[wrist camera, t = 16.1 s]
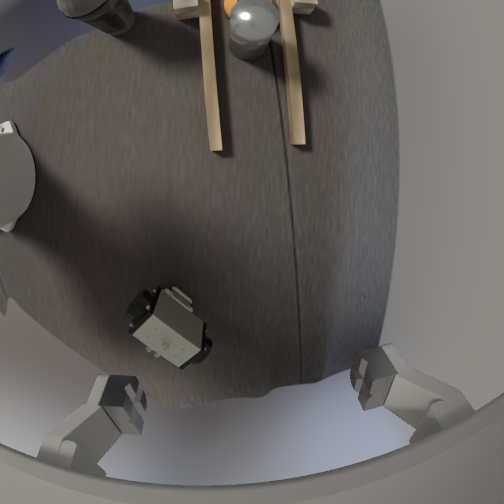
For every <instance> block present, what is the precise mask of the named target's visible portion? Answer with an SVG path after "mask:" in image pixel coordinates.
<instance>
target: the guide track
mask: <svg viewBox="0 0 504 504" xmlns="http://www.w3.org/2000/svg"><path fill="white" fill-rule="evenodd" d="M276 2H277V9H278V11H279V13H280V21H279V25H280V33H281V41H282V50H283V60H284V69H285V80H286V91H287V102H288V115H289V128H290V142H291V144H305V128H304V114H303V102H302V90H301V79H300V69H299V60H298V51H297V43H296V35H295V27H294V19H293V13H294V14H309V15H310V13H311V12H312V11H313V10H314V8H315V7H316V6H317V5H318V2H317V0H276ZM173 8H174V12H175V14H176V16H177V19H178V20H183V19H189V18H196V17H199V19H200V36H201V51H202V64H203V77H204V90H205V102H206V113H207V124H208V134H209V144H210V151H217V150H222V139H221V128H220V117H219V106H218V95H217V83H216V71H215V58H214V45H213V31H212V17H211V2H210V0H173Z"/></svg>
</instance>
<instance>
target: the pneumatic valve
mask: <svg viewBox="0 0 504 504" xmlns="http://www.w3.org/2000/svg"><path fill="white" fill-rule="evenodd" d="M171 289H172V290H171V291H170V290H169V289H167V288H165V289H164V290H163V289H161V288H160V287H159V286H158V287H157V288H156V289H154V290H153V291H152V293H150V292H149V291H148V290H146V289H143V290H142V291H141V292H140V293H139V294H138V295H137V296H136V297H135V299H134V300H133V301H132V303H131V304H130V306H129V307H128V309H127V311H126V316H128V317H129V318H130V319H131V320H132V321H131V322H130V324H129V326H131V327H130V329H129V333H130V334H132V335H133V336H134V337H136V338H137V339H138V340H140V341H141V342H142V343H144V344H145V345H147V346H148V347H147V348H146V350H147V351H148V352H151V351H152V350H154V351H155V352H156V353H154V355H155V357H157V358H158V357H160V356H162V357H164V358H165V359H167V360H168V361H170V362H171V363H173V364H174V365H176V366H177V367H179V368H180V369H183V368H185V367H186V366H187V365H189V364H190V363H193V364H199V363H201V362H202V361H203V360H204V359H205V358H206V357H207V355H208V354H209V352H210V350H211V348H212V340H211V339H210V338H208V337H207V336H206V332H207V330H206V324H205V323H204V322H203V321H202V320H200V319H199V318H198V317H196V316H195V315H194V314H192V312H193V309H192V308H191V307H190V304H192V301H191V298H190V297H189V296H187V295H186V294H185V293H184V292H182V291H181V290H180V289H179V288H178V287H176V286H175V287H174V286H172V288H171Z"/></svg>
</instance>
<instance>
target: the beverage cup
mask: <svg viewBox="0 0 504 504" xmlns="http://www.w3.org/2000/svg"><path fill="white" fill-rule="evenodd" d="M57 4H58V7H59V9H60V10H61V11H62V13H63V14H64V15H65V16H66V17H67V18H71V19H77V20H80V21H83V22H86V23H87V24H90V25H92V26H93V27H95V28H97V29H99V30H101V31H103V32H105V33H108V34H110V35H113V36H118V35H122V34H124V33H126V32H127V31H129V30H130V29H131V28H132V26H133V25H134V22H135V15H134V13H133V10H132V8H131V6H130V4H129V2H128V0H57Z"/></svg>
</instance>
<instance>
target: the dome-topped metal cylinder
mask: <svg viewBox="0 0 504 504" xmlns="http://www.w3.org/2000/svg"><path fill="white" fill-rule="evenodd" d="M279 21H280V13H279V11H278V9H277V7H276V6H275V5H274V4H273V3H271V2H270V1H268V0H240V1H238V2H237V3H236V4H235V5H234V6H233V7H232V9H231V12H230V24H229V49H230V51H231V53H232V54H233V55H234V56H236V57H237V58H240V59H243V60H253V59H256V58H258V57H260V56H261V55H262V54H263V53H264V52H265V50H266V48H267V46H268V44H269V42H270V40H271V38H272V36H273V34H274V32H275V30H276V28H277V26H278V24H279Z"/></svg>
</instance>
